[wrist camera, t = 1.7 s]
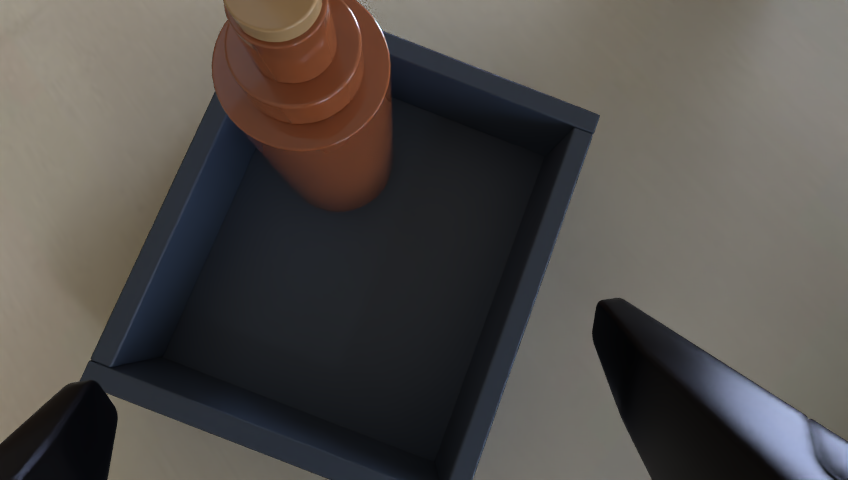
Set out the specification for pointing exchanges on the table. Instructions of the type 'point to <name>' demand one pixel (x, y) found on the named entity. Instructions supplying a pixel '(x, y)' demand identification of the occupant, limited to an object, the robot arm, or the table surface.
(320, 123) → the bottle
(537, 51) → the table surface
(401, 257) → the bin
